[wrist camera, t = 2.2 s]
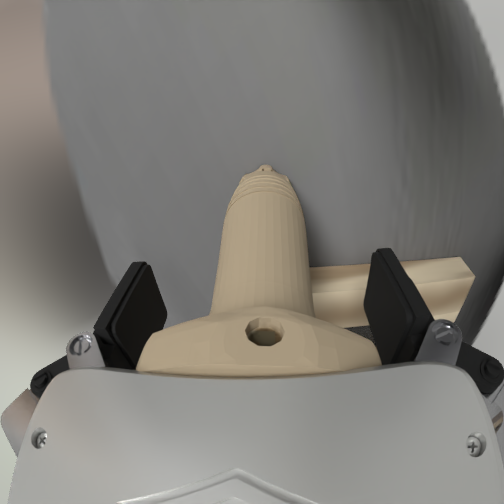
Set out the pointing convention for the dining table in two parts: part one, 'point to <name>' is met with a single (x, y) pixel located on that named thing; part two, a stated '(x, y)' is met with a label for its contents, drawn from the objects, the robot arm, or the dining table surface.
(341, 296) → the board
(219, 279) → the handle
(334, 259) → the dining table surface
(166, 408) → the robot arm
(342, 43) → the dining table surface
